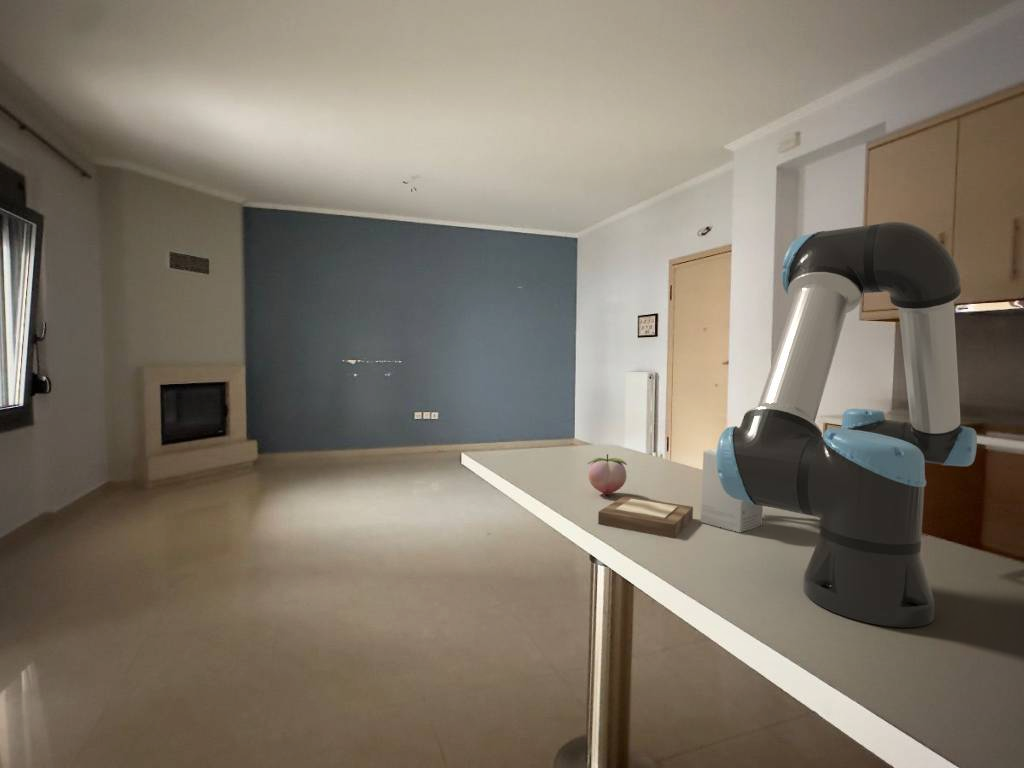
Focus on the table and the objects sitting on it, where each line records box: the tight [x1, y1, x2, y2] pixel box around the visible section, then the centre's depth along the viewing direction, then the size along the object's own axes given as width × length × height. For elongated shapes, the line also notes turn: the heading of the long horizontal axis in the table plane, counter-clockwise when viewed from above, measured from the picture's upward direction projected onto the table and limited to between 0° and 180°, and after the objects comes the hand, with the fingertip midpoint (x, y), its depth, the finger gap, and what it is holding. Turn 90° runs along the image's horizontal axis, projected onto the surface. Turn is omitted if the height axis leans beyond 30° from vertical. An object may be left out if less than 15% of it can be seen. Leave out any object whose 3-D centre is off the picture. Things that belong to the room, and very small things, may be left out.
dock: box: [597, 495, 694, 539], centre depth 112 cm, size 15×15×3 cm
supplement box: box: [699, 448, 764, 534], centre depth 111 cm, size 9×9×15 cm
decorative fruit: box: [587, 454, 628, 496], centre depth 133 cm, size 9×8×10 cm
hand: (722, 485), depth 110 cm, fingers open, 13 cm apart
